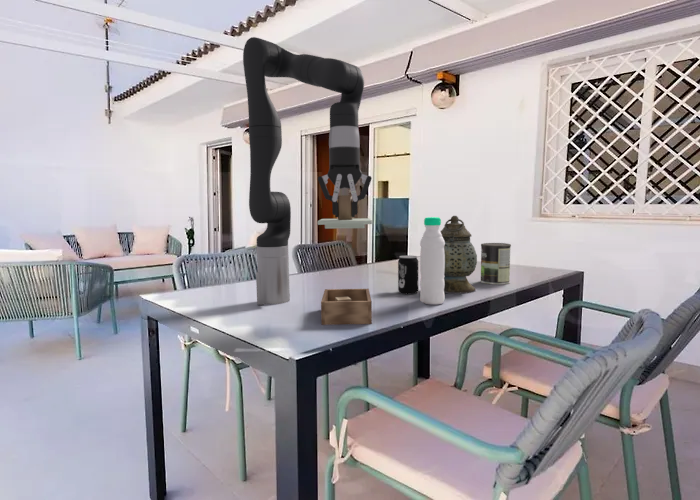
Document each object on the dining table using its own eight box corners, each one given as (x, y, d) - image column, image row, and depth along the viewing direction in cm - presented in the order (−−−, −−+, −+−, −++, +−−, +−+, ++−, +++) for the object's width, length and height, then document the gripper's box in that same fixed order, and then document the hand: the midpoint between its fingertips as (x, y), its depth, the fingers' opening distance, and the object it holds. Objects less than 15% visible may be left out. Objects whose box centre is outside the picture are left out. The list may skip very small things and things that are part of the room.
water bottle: (439, 306, 120) (439, 217, 118) (416, 303, 124) (416, 217, 122) (447, 301, 126) (448, 216, 124) (425, 298, 130) (425, 217, 128)
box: (321, 327, 101) (320, 302, 101) (325, 310, 117) (324, 289, 117) (371, 326, 101) (371, 301, 101) (368, 310, 117) (368, 288, 117)
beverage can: (417, 294, 136) (417, 257, 135) (397, 294, 138) (397, 257, 136) (418, 290, 143) (418, 255, 142) (399, 290, 144) (399, 255, 143)
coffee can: (482, 284, 152) (483, 245, 150) (478, 279, 162) (478, 242, 160) (513, 285, 150) (514, 245, 149) (506, 280, 160) (507, 242, 159)
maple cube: (338, 313, 112) (338, 300, 111) (335, 310, 115) (334, 297, 115) (351, 312, 113) (351, 299, 112) (348, 309, 116) (347, 296, 116)
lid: (317, 229, 99) (317, 195, 98) (322, 225, 115) (321, 196, 114) (371, 228, 99) (371, 194, 98) (368, 225, 115) (368, 196, 114)
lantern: (485, 290, 141) (486, 215, 139) (456, 296, 133) (456, 216, 131) (453, 284, 153) (453, 214, 150) (424, 289, 145) (424, 215, 142)
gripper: (314, 145, 101) (315, 217, 103) (373, 144, 101) (374, 217, 103) (316, 149, 109) (318, 217, 110) (372, 148, 109) (372, 216, 110)
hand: (345, 216), depth 107 cm, fingers closed on lid, 3 cm apart
